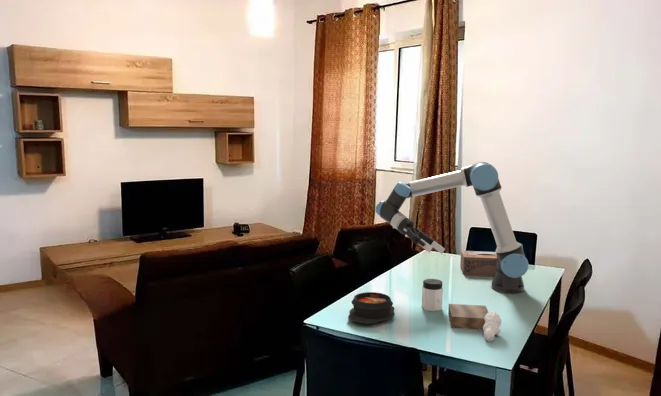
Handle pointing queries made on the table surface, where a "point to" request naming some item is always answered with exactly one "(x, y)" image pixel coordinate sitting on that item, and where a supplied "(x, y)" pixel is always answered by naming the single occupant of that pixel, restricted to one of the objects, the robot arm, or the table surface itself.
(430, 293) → the jar
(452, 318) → the walnut block
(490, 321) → the white animal figurine
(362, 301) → the casserole
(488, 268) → the tissue box cover
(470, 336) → the table surface
